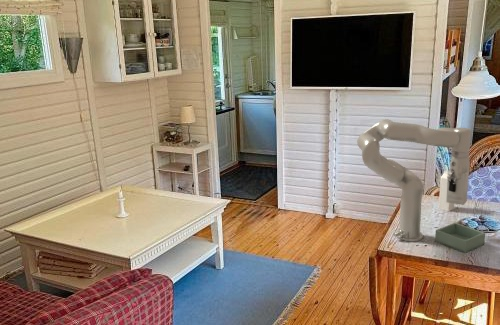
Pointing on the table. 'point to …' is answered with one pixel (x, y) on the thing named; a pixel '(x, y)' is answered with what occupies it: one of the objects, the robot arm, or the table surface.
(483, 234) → the tote
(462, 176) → the skincare box
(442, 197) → the milk
